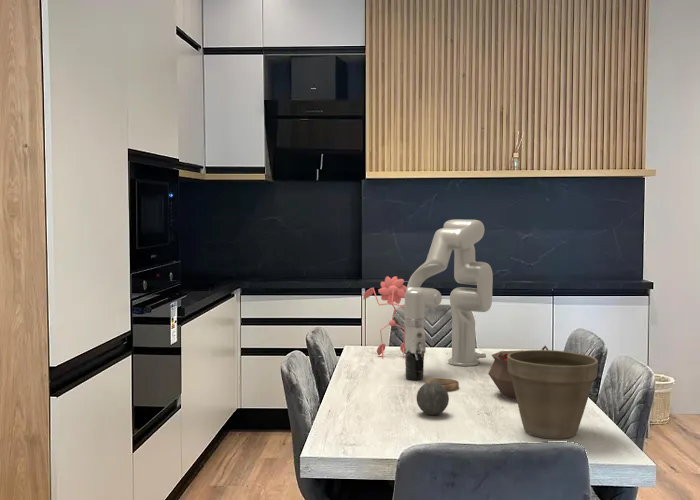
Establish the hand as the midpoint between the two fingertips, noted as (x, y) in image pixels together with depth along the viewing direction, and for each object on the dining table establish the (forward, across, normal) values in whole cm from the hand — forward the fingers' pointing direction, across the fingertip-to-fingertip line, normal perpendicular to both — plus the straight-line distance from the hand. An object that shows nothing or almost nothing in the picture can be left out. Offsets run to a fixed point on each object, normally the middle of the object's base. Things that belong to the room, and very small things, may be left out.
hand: (414, 367), depth 276 cm
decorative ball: (+5, -47, +13) cm, 49 cm away
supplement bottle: (+4, 0, 0) cm, 4 cm away
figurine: (+4, +45, -8) cm, 46 cm away
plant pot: (+5, -74, -12) cm, 75 cm away
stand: (+4, -16, -4) cm, 17 cm away
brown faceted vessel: (+4, -35, -26) cm, 44 cm away
